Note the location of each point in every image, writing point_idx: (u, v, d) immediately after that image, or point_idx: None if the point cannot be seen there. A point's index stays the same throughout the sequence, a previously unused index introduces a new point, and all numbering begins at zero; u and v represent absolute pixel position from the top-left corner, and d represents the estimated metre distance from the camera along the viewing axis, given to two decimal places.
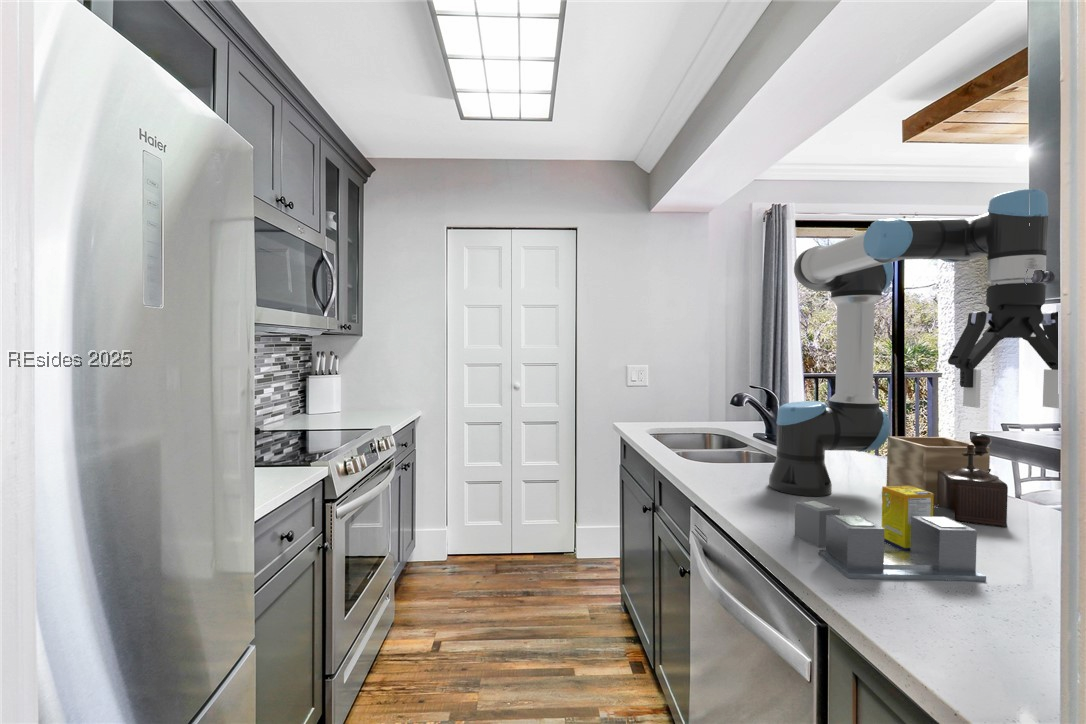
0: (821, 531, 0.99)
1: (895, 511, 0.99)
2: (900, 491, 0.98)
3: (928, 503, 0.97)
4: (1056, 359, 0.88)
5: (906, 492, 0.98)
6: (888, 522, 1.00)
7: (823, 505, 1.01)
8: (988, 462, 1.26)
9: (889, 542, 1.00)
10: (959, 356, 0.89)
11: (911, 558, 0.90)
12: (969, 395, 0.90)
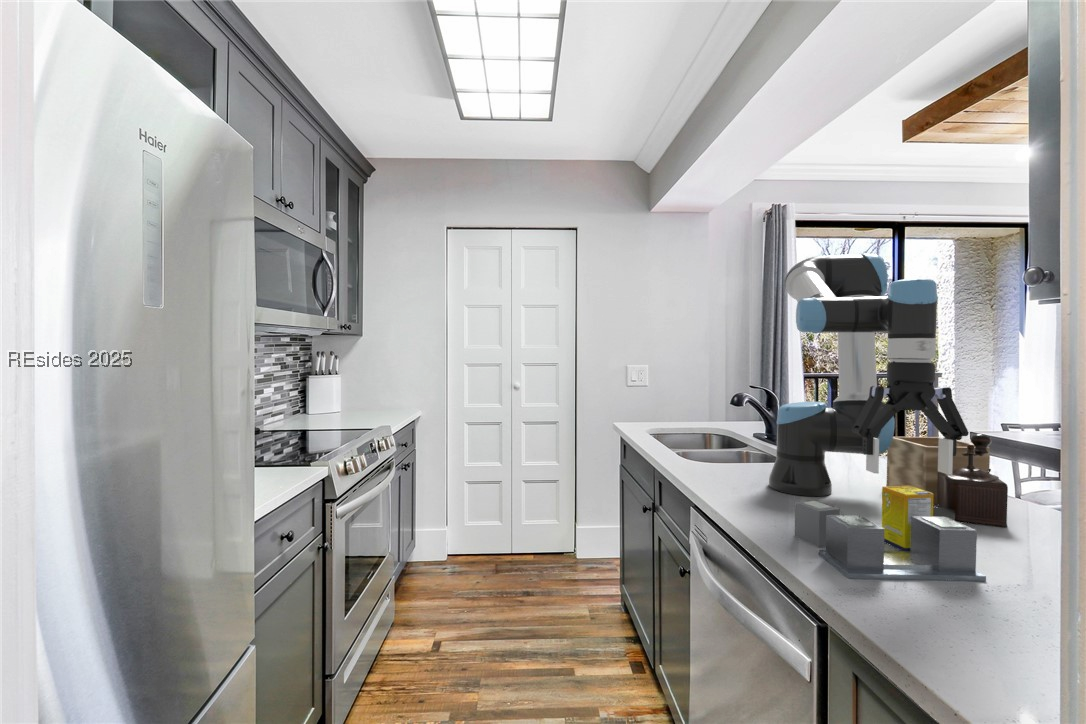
0: (821, 531, 0.99)
1: (895, 511, 0.99)
2: (900, 491, 0.98)
3: (928, 503, 0.97)
4: (947, 430, 0.98)
5: (906, 492, 0.98)
6: (888, 522, 1.00)
7: (823, 505, 1.01)
8: (988, 462, 1.26)
9: (889, 542, 1.00)
10: (860, 427, 0.98)
11: (911, 558, 0.90)
12: (870, 461, 0.99)
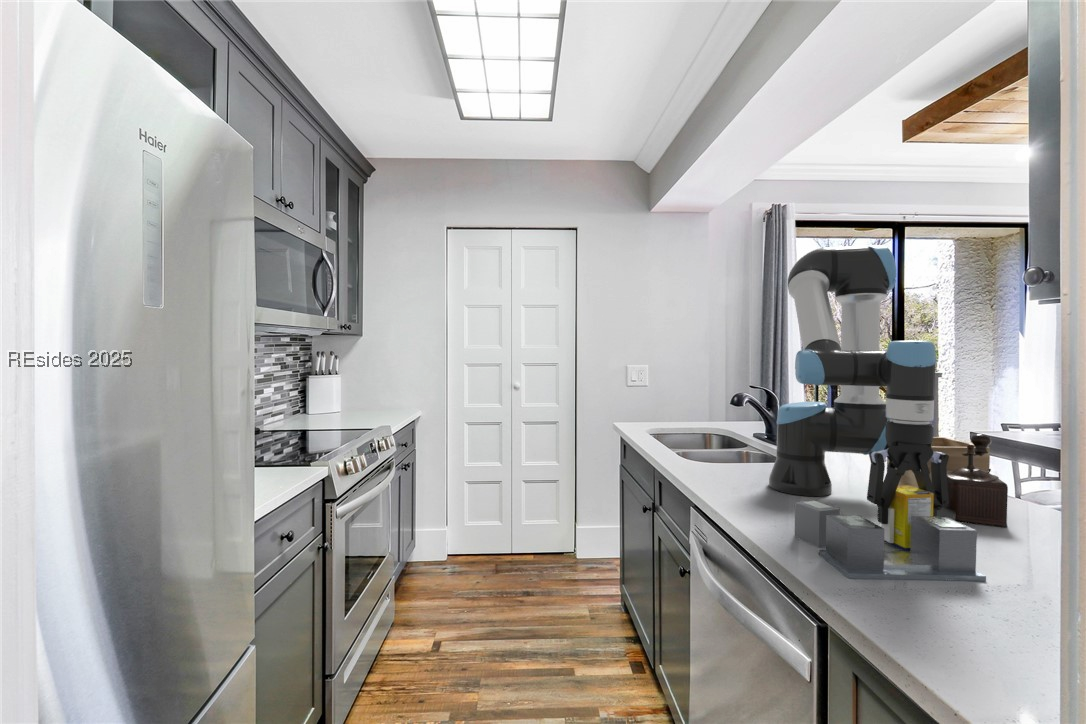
0: (821, 531, 0.99)
1: (895, 511, 0.99)
2: (900, 491, 0.98)
3: (928, 503, 0.97)
4: None
5: (906, 492, 0.98)
6: None
7: (823, 505, 1.01)
8: (988, 462, 1.26)
9: None
10: (874, 497, 0.99)
11: (911, 558, 0.90)
12: (885, 530, 1.00)
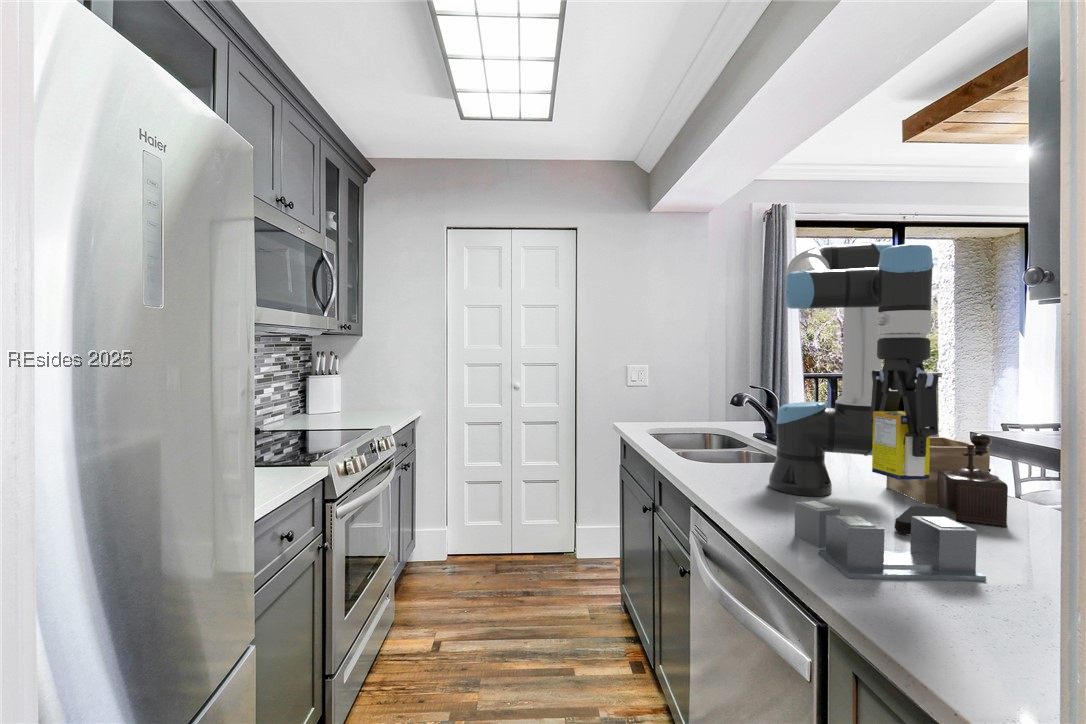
0: (821, 531, 0.99)
1: None
2: (885, 411, 0.92)
3: (893, 425, 0.87)
4: (907, 422, 0.86)
5: (884, 411, 0.91)
6: None
7: (823, 505, 1.01)
8: (988, 462, 1.26)
9: None
10: (871, 415, 0.96)
11: (911, 558, 0.90)
12: None
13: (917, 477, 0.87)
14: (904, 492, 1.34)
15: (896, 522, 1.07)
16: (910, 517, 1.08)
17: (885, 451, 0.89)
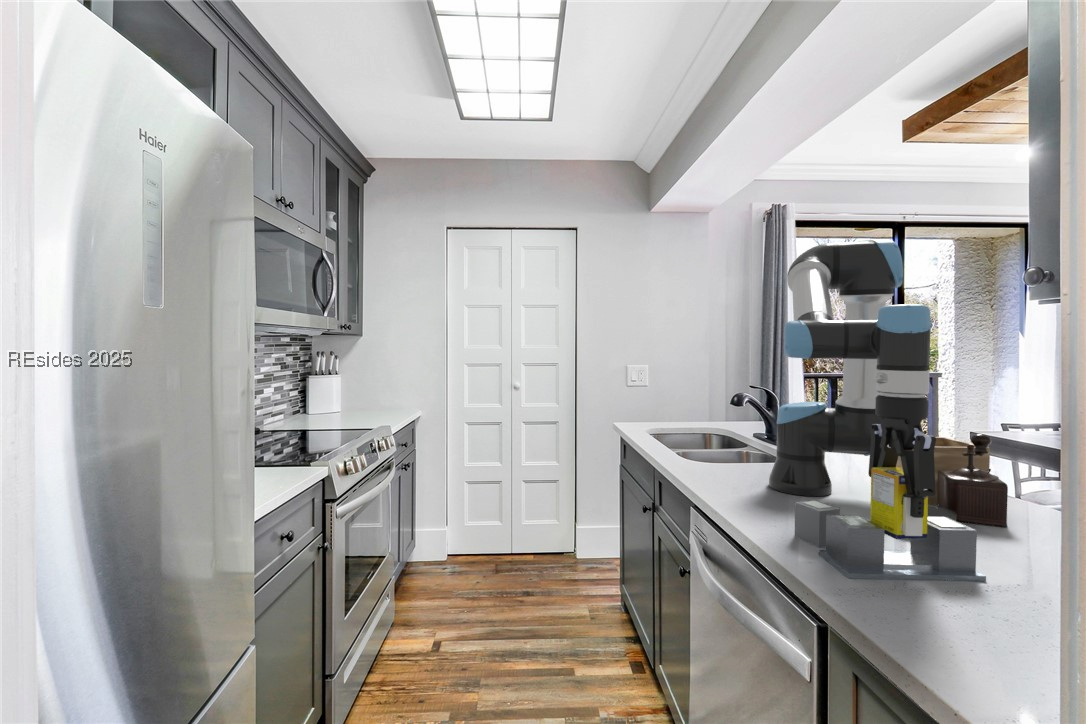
0: (821, 531, 0.99)
1: None
2: (883, 467, 0.92)
3: (891, 484, 0.88)
4: (905, 482, 0.86)
5: (882, 468, 0.91)
6: None
7: (823, 505, 1.01)
8: (988, 462, 1.26)
9: None
10: (869, 469, 0.97)
11: (911, 558, 0.90)
12: None
13: (915, 536, 0.87)
14: None
15: None
16: None
17: (883, 509, 0.89)
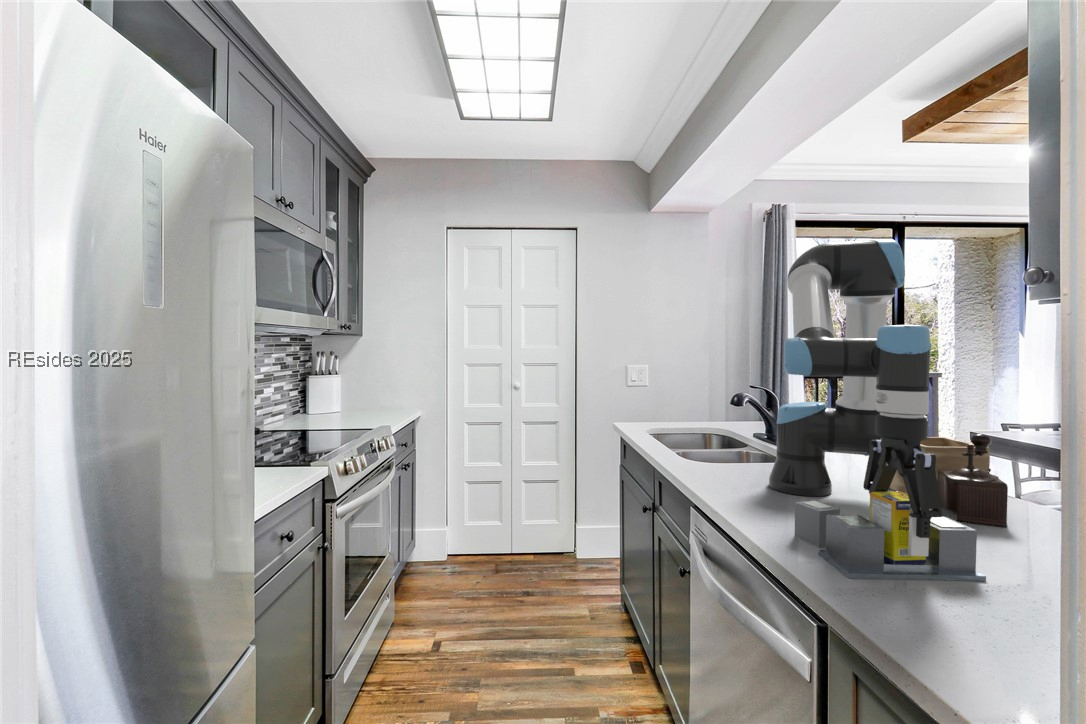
0: (821, 531, 0.99)
1: None
2: (882, 492, 0.92)
3: (889, 509, 0.88)
4: (910, 502, 0.85)
5: (880, 493, 0.92)
6: None
7: (823, 505, 1.01)
8: (988, 462, 1.26)
9: None
10: (865, 481, 0.98)
11: None
12: None
13: (913, 562, 0.87)
14: (904, 492, 1.34)
15: None
16: None
17: None
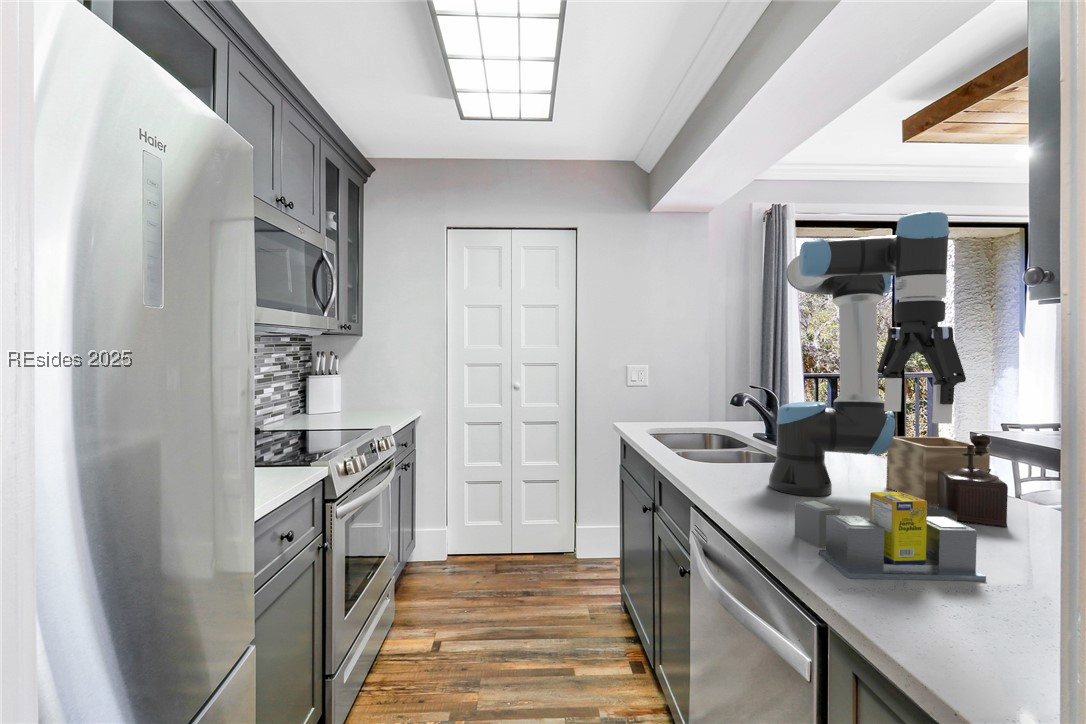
0: (821, 531, 0.99)
1: None
2: (883, 492, 0.92)
3: (889, 510, 0.88)
4: (933, 374, 0.89)
5: (881, 493, 0.92)
6: None
7: (823, 505, 1.01)
8: (988, 462, 1.26)
9: None
10: (879, 366, 1.05)
11: None
12: None
13: (913, 562, 0.87)
14: (904, 492, 1.34)
15: None
16: None
17: None
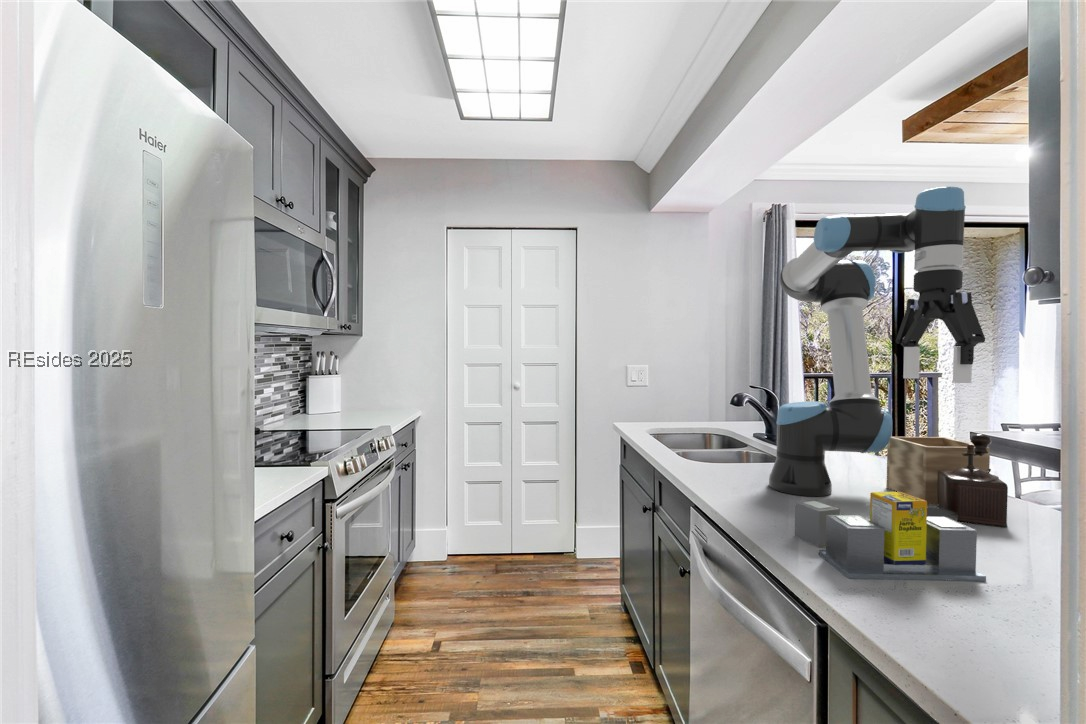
0: (821, 531, 0.99)
1: None
2: (883, 492, 0.92)
3: (889, 510, 0.88)
4: (953, 337, 0.94)
5: (881, 493, 0.92)
6: None
7: (823, 505, 1.01)
8: (988, 462, 1.26)
9: None
10: (897, 336, 1.10)
11: None
12: None
13: (913, 562, 0.87)
14: (904, 492, 1.34)
15: None
16: None
17: None
